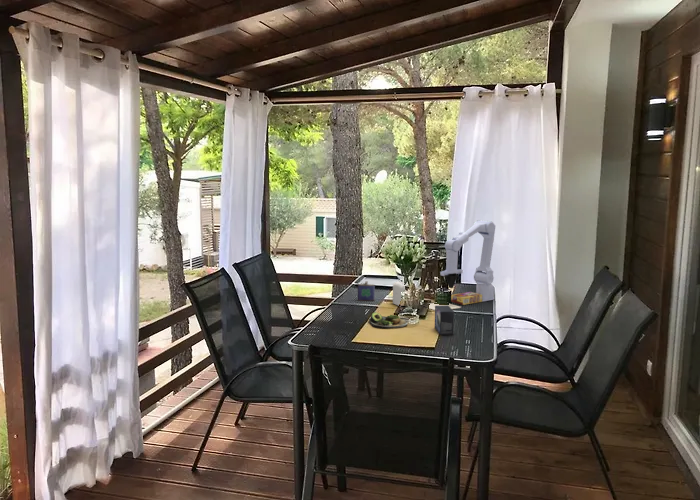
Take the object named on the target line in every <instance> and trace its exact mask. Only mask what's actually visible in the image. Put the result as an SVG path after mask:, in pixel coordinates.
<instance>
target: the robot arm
mask: <svg viewBox="0 0 700 500" xmlns="http://www.w3.org/2000/svg"><path fill="white" fill-rule="evenodd" d="M477 233H478V234H480V235H481V236H482V238H483V242H482V247H481V248H482V249H481V256H480V263H479V266H478V267H476V269H475V272H474V274H473V280H474V281H475V284H476V289H475V290H476V291H475V293H477V294H481V295H482V302H487V301H493V300H495V298H494V292H495V291H494V290H495V288H494V285H493V283H494V282H493V281H494V278H495V277H494V270H493V269H492V268H491V261H492V255H493V254H492V253H493V248H494V240H495V233H496V224H495V223H494V222H493V221H489V220H487V221H486V220H481V219H478V220H476V221H475V222H473V225H472V226H470V227H469V228H468V229H467V230H466V231H460V232H458V234H456V235H455V236H453V237H452V238H450V239H447V240H446V242H445V243H444V248H445V252H446V261H445V262H446V266H445V270H442V271H439V273H440V274H439V275H440V276H442V277H445V279H446V281H447V285H448V288H449V289H454V286H455V283H456V281H457V279H458V277H459V274H463V272H464V271H463V270H464V269H460V268H459V269H458V261H459V259H458V257H459V251H460V250H461V248H462V246H463V245H464V244H465V243H467V242H468V241H469V239H470V237H472V236H474V235H475V234H477Z"/></svg>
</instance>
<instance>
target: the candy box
mask: <svg viewBox="0 0 700 500" xmlns="http://www.w3.org/2000/svg"><path fill="white" fill-rule="evenodd" d="M450 297H451V299H450V302H451V303H454V304H458V305H462V306H465V305H469V304H470V305H471V304H478V303H482V302H483V301H482V295H481V294H477V293H476V292H472V291H466V292H460V293H455V294H451V296H450Z"/></svg>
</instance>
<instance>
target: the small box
mask: <svg viewBox="0 0 700 500" xmlns="http://www.w3.org/2000/svg"><path fill="white" fill-rule="evenodd" d="M454 316H455V311H454V309H451V308H450V307H449V306H448V305H447V306H435V310H434V329H435V330H436V331H437V333H438V334H439V336H440V335H443V336H444V335H454V322H455V320H454V319H455V317H454Z"/></svg>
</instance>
